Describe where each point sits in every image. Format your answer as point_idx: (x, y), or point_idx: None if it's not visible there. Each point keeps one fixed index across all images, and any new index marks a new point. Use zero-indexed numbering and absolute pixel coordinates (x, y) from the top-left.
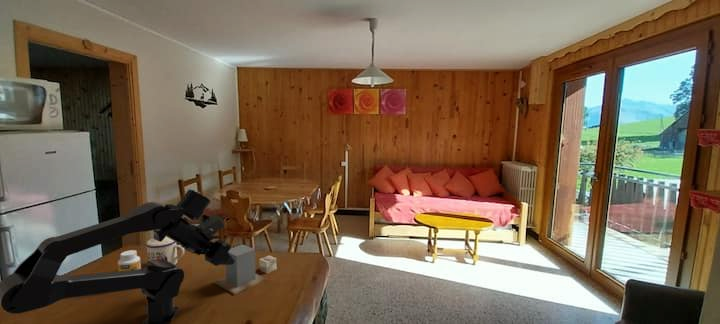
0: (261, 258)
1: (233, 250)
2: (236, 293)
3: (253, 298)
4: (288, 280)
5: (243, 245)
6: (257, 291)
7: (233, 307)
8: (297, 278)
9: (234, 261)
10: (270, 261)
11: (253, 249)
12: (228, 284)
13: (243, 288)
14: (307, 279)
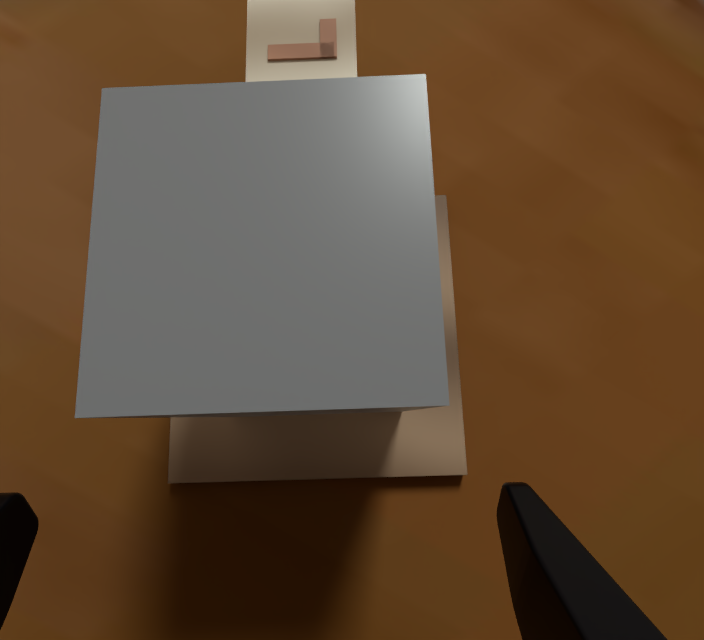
0: (247, 64)
1: (192, 313)
2: (465, 458)
3: (608, 404)
4: (568, 104)
5: (145, 105)
6: (541, 331)
7: (615, 571)
8: (590, 51)
9: (531, 492)
10: (355, 46)
11: (415, 89)
12: (303, 434)
13: (452, 389)
14: (653, 18)
